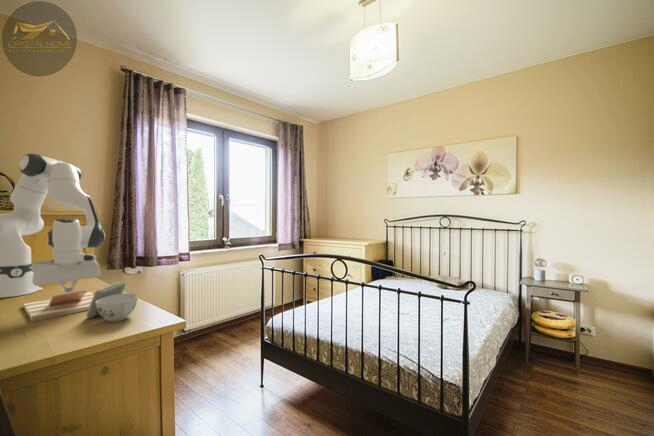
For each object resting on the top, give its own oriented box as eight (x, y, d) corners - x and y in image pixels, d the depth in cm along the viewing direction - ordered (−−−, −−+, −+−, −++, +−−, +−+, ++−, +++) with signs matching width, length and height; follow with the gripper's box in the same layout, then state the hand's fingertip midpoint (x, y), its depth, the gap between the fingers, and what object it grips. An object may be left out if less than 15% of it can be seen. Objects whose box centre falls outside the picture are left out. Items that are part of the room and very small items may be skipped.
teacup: (91, 320, 105) (90, 298, 105) (130, 311, 115) (130, 291, 115) (104, 330, 96) (104, 306, 96) (145, 319, 106) (145, 297, 105)
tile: (52, 294, 111) (52, 297, 110) (85, 289, 118) (86, 291, 118) (48, 303, 116) (48, 306, 116) (80, 297, 124) (80, 300, 124)
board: (23, 306, 119) (23, 303, 119) (90, 295, 137) (90, 292, 137) (32, 321, 103) (32, 317, 103) (107, 306, 120) (106, 302, 120)
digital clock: (114, 305, 122) (114, 280, 122) (134, 305, 121) (134, 280, 121) (78, 319, 106) (77, 290, 106) (100, 320, 105) (99, 291, 105)
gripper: (32, 262, 106) (33, 299, 106) (101, 255, 122) (101, 288, 122) (29, 260, 110) (30, 297, 110) (96, 254, 126) (97, 286, 126)
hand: (68, 292), depth 116 cm, fingers closed, pressing on tile
